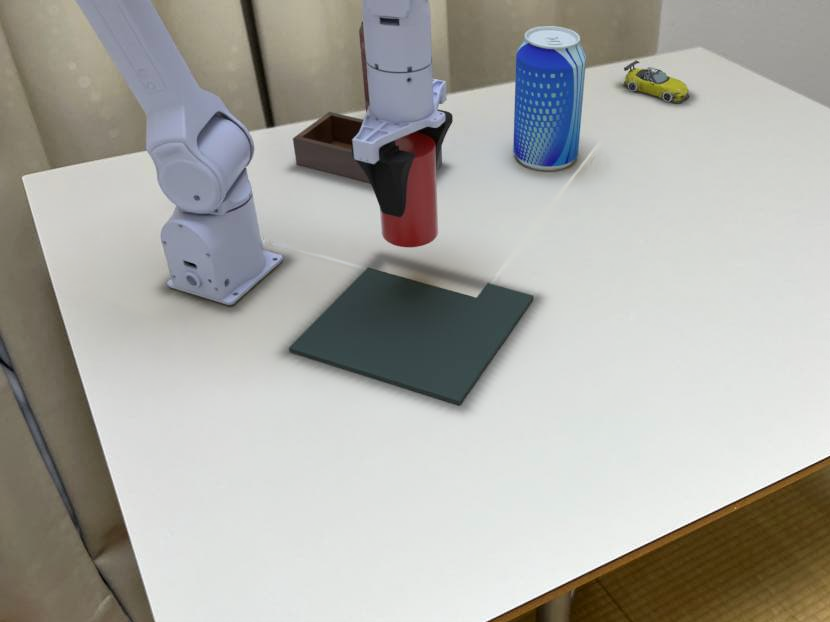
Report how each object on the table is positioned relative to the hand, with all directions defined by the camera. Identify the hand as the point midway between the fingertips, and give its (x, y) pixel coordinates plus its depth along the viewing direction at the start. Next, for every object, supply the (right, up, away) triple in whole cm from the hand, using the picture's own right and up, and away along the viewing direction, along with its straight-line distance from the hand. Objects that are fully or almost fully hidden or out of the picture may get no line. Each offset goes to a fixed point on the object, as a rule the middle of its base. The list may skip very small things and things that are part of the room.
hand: (407, 198), depth 87 cm
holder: (-8, +10, +25) cm, 28 cm away
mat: (+1, -12, +2) cm, 12 cm away
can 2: (0, -3, +3) cm, 4 cm away
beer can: (+14, +12, +29) cm, 34 cm away
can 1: (-7, +17, +34) cm, 39 cm away
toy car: (+30, +27, +47) cm, 62 cm away
